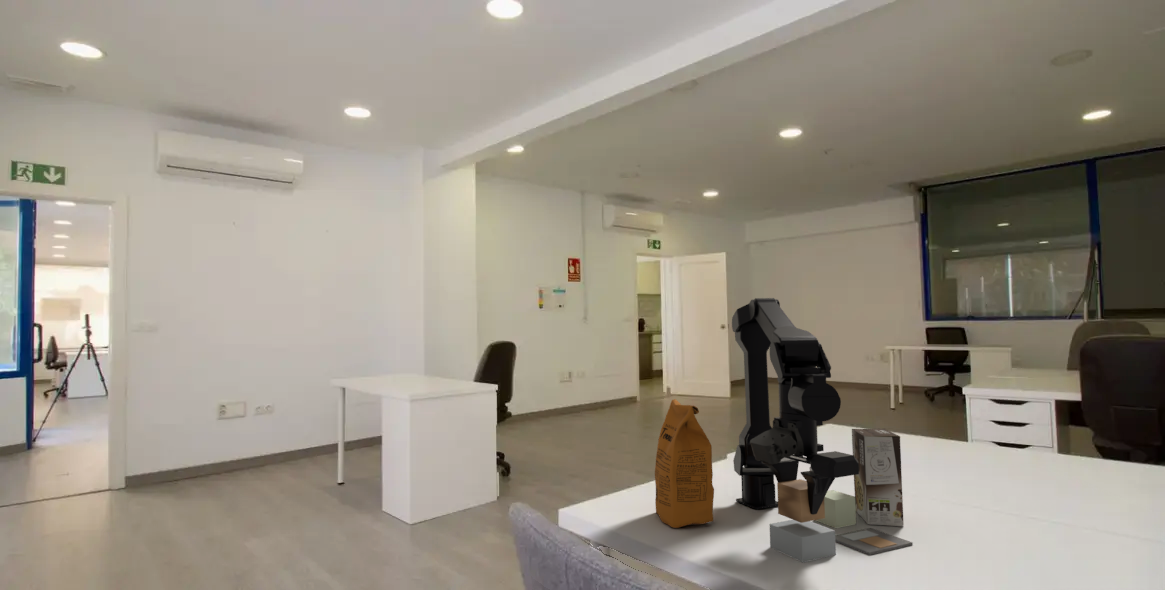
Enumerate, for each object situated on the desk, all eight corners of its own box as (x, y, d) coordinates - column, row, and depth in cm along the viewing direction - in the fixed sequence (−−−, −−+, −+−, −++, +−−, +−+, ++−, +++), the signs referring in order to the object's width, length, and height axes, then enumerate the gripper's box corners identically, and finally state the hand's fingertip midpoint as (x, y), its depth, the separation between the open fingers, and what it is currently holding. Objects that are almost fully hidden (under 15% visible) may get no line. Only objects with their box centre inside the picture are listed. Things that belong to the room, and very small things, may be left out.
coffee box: (905, 527, 104) (901, 436, 105) (866, 525, 106) (863, 435, 107) (889, 511, 113) (885, 427, 114) (854, 510, 115) (850, 427, 116)
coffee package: (697, 507, 117) (695, 397, 119) (720, 528, 105) (717, 405, 106) (649, 510, 116) (647, 398, 117) (666, 531, 104) (664, 406, 105)
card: (829, 538, 99) (828, 535, 99) (870, 530, 103) (870, 527, 103) (869, 555, 92) (869, 551, 92) (912, 544, 96) (912, 541, 96)
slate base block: (770, 548, 95) (769, 523, 96) (802, 542, 98) (801, 517, 99) (802, 564, 89) (801, 537, 89) (835, 556, 92) (835, 530, 92)
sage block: (814, 520, 109) (813, 493, 109) (834, 516, 111) (833, 490, 111) (836, 528, 104) (835, 500, 105) (856, 524, 106) (855, 496, 107)
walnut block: (778, 513, 95) (777, 482, 96) (801, 509, 97) (800, 479, 98) (801, 522, 91) (800, 490, 91) (824, 518, 93) (823, 486, 93)
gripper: (721, 408, 100) (724, 501, 99) (803, 423, 83) (807, 535, 82) (771, 404, 105) (774, 492, 104) (859, 418, 88) (863, 523, 87)
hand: (801, 509), depth 94 cm, fingers closed on walnut block, 5 cm apart
